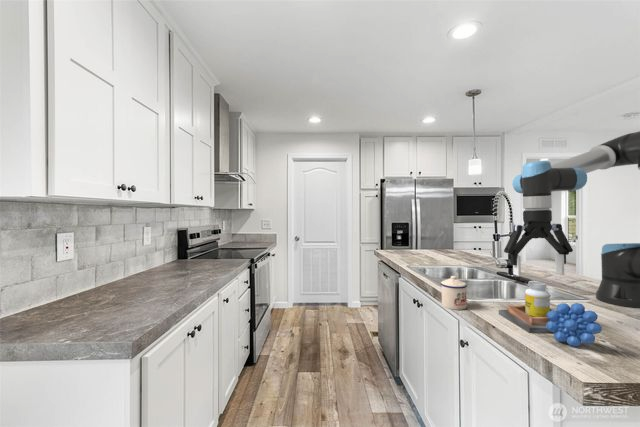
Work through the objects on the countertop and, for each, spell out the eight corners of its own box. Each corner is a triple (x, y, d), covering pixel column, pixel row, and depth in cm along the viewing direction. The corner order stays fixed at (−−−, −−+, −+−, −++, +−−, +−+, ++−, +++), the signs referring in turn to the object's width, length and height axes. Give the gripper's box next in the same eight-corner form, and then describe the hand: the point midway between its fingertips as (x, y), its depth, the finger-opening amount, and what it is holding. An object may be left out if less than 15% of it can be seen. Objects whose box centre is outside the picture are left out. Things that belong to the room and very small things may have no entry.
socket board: (544, 313, 103) (544, 303, 102) (584, 333, 87) (584, 320, 87) (498, 313, 103) (498, 303, 103) (529, 333, 87) (529, 320, 87)
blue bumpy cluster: (605, 349, 76) (605, 304, 76) (599, 357, 72) (599, 309, 72) (551, 334, 86) (551, 294, 86) (543, 340, 82) (543, 298, 82)
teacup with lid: (457, 312, 106) (457, 280, 105) (436, 305, 113) (435, 275, 113) (476, 306, 112) (476, 276, 112) (455, 300, 120) (454, 271, 119)
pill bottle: (527, 313, 99) (527, 279, 99) (551, 317, 95) (551, 282, 95) (523, 318, 95) (523, 282, 95) (548, 323, 90) (547, 286, 90)
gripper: (567, 208, 98) (568, 271, 98) (491, 210, 99) (492, 272, 99) (586, 208, 90) (588, 276, 90) (504, 210, 91) (506, 278, 91)
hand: (538, 274), depth 95 cm, fingers open, 13 cm apart
